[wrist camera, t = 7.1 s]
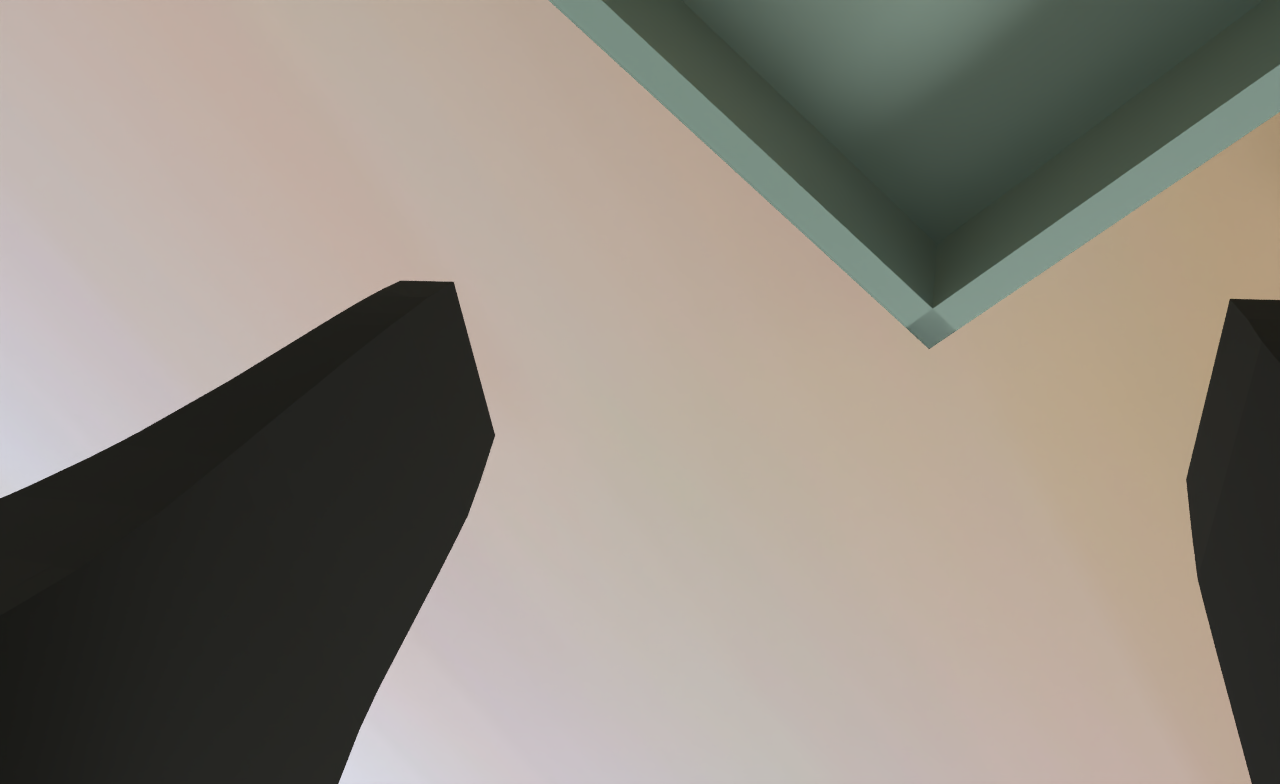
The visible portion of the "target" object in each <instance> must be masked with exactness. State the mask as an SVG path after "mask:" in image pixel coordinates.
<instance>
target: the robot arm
mask: <svg viewBox="0 0 1280 784" xmlns="http://www.w3.org/2000/svg"><path fill="white" fill-rule="evenodd" d="M494 437H495V433H494V430H493V426H492V422H491V419H490V415H489V411H488V408H487V404H486V400H485V396H484V393H483V389H482V385H481V382H480V378H479V374H478V371H477V367H476V363H475V359H474V356H473V352H472V348H471V345H470V341H469V337H468V334H467V330H466V326H465V322H464V319H463V315H462V311H461V308H460V304H459V300H458V297H457V293H456V289H455V285H454V282H435V281H399V282H397V283H395V284H393V285H390V286H388V287H386V288H384V289H382V290H380V291H378V292H376V293H374V294H373V295H371V296H369V297H367V298H365V299H364V300H362V301H360V302H358V303H357V304H355V305H353V306H351V307H350V308H348V309H346V310H345V311H343V312H341V313H340V314H338V315H336V316H335V317H333V318H331V319H330V320H328V321H326V322H325V323H323V324H321V325H320V326H318V327H316V328H315V329H313V330H312V331H310V332H308V333H307V334H305V335H303V336H302V337H300V338H299V339H297V340H295V341H294V342H292V343H290V344H289V345H287V346H286V347H284V348H282V349H281V350H279V351H277V352H276V353H274V354H272V355H271V356H269V357H268V358H266V359H264V360H263V361H261V362H259V363H258V364H256V365H254V366H253V367H251V368H250V369H248V370H246V371H245V372H243V373H241V374H240V375H238V376H236V377H235V378H233V379H231V380H230V381H228V382H226V383H225V384H223V385H221V386H219V387H218V388H216V389H214V390H212V391H210V392H209V393H207V394H205V395H203V396H202V397H200V398H198V399H196V400H195V401H193V402H191V403H189V404H188V405H186V406H184V407H182V408H181V409H179V410H177V411H175V412H174V413H172V414H170V415H168V416H166V417H165V418H163V419H161V420H159V421H158V422H156V423H154V424H152V425H151V426H149V427H147V428H145V429H144V430H142V431H140V432H138V433H136V434H134V435H132V436H131V437H129V438H127V439H125V440H123V441H121V442H119V443H117V444H115V445H113V446H111V447H109V448H107V449H105V450H103V451H101V452H99V453H97V454H95V455H93V456H91V457H89V458H87V459H85V460H83V461H81V462H79V463H77V464H75V465H73V466H71V467H68V468H66V469H64V470H62V471H60V472H58V473H56V474H54V475H51V476H49V477H47V478H45V479H43V480H41V481H39V482H37V483H34V484H32V485H30V486H28V487H26V488H23V489H21V490H19V491H16V492H14V493H12V494H10V495H7V496H5V497H2V498H0V784H338V783H339V780H340V778H341V775H342V773H343V770H344V768H345V765H346V763H347V760H348V757H349V755H350V752H351V750H352V747H353V745H354V742H355V740H356V737H357V734H358V732H359V730H360V727H361V725H362V723H363V721H364V719H365V717H366V714H367V712H368V710H369V708H370V706H371V704H372V702H373V699H374V697H375V695H376V693H377V691H378V689H379V687H380V685H381V683H382V681H383V679H384V677H385V675H386V673H387V671H388V670H389V668H390V666H391V664H392V662H393V660H394V658H395V656H396V654H397V652H398V650H399V648H400V647H401V645H402V643H403V641H404V639H405V637H406V635H407V633H408V631H409V629H410V627H411V626H412V624H413V622H414V620H415V618H416V616H417V614H418V612H419V610H420V608H421V606H422V604H423V603H424V601H425V599H426V597H427V595H428V593H429V591H430V589H431V587H432V585H433V583H434V582H435V580H436V578H437V576H438V574H439V572H440V570H441V568H442V566H443V564H444V562H445V560H446V558H447V556H448V554H449V552H450V550H451V548H452V546H453V544H454V542H455V540H456V538H457V536H458V534H459V532H460V530H461V528H462V526H463V524H464V522H465V520H466V518H467V516H468V513H469V511H470V508H471V505H472V502H473V500H474V497H475V494H476V491H477V489H478V486H479V483H480V480H481V477H482V474H483V471H484V468H485V465H486V462H487V459H488V456H489V453H490V449H491V446H492V443H493V440H494ZM1186 481H1187V491H1188V500H1189V510H1190V520H1191V529H1192V538H1193V546H1194V554H1195V561H1196V569H1197V577H1198V582H1199V586H1200V590H1201V594H1202V598H1203V602H1204V606H1205V610H1206V613H1207V617H1208V621H1209V625H1210V629H1211V633H1212V636H1213V640H1214V644H1215V648H1216V652H1217V656H1218V659H1219V663H1220V667H1221V671H1222V674H1223V678H1224V682H1225V685H1226V689H1227V693H1228V697H1229V700H1230V704H1231V708H1232V711H1233V715H1234V719H1235V723H1236V726H1237V730H1238V734H1239V737H1240V741H1241V745H1242V749H1243V752H1244V756H1245V760H1246V764H1247V767H1248V771H1249V775H1250V778H1251V782H1252V784H1280V300H1252V299H1230V301H1229V305H1228V309H1227V313H1226V318H1225V322H1224V326H1223V330H1222V334H1221V338H1220V342H1219V347H1218V351H1217V355H1216V359H1215V363H1214V367H1213V371H1212V375H1211V380H1210V384H1209V388H1208V392H1207V396H1206V400H1205V404H1204V408H1203V413H1202V417H1201V421H1200V425H1199V429H1198V433H1197V437H1196V442H1195V446H1194V450H1193V454H1192V458H1191V462H1190V466H1189V470H1188V475H1187V479H1186Z"/></svg>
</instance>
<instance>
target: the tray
mask: <svg viewBox="0 0 1280 784" xmlns="http://www.w3.org/2000/svg"><path fill="white" fill-rule="evenodd" d="M549 1H550V2H551V3H552V4H553V5H554V6H556V7H557V8H558V9H559V10H560V11H561V12H562V13H563V14H564V15H565V16H566V17H568V18H569V19H570V20H571V21H572V22H573V23H574V24H575V25H576V26H577V27H578V28H580V29H581V30H582V31H583V32H584V33H585V34H586V35H587V36H588V37H589V38H590V39H592V40H593V41H594V42H595V43H596V44H597V45H598V46H599V47H600V48H601V49H602V50H604V51H605V52H606V53H607V54H608V55H609V56H610V57H611V58H612V59H613V60H614V61H616V62H617V63H618V64H619V65H620V66H621V67H622V68H623V69H624V70H625V71H626V72H628V73H629V74H630V75H631V76H632V77H633V78H634V79H635V80H636V81H637V82H638V83H640V84H641V85H642V86H643V87H644V88H645V89H646V90H647V91H648V92H649V93H650V94H652V95H653V96H654V97H655V98H656V99H657V100H658V101H659V102H660V103H661V104H662V105H664V106H665V107H666V108H667V109H668V110H669V111H670V112H671V113H672V114H673V115H674V116H676V117H677V118H678V119H679V120H680V121H681V122H682V123H683V124H684V125H685V126H686V127H688V128H689V129H690V130H691V131H692V132H693V133H694V134H695V135H696V136H697V137H698V138H700V139H701V140H702V141H703V142H704V143H705V144H706V145H707V146H708V147H709V148H710V149H712V150H713V151H714V152H715V153H716V154H717V155H718V156H719V157H720V158H721V159H722V160H724V161H725V162H726V163H727V164H728V165H729V166H730V167H731V168H732V169H733V170H734V171H736V172H737V173H738V174H739V175H740V176H741V177H742V178H743V179H744V180H745V181H746V182H748V183H749V184H750V185H751V186H752V187H753V188H754V189H755V190H756V191H757V192H758V193H760V194H761V195H762V196H763V197H764V198H765V199H766V200H767V201H768V202H769V203H770V204H772V205H773V206H774V207H775V208H776V209H777V210H778V211H779V212H780V213H781V214H782V215H784V216H785V217H786V218H787V219H788V220H789V221H790V222H791V223H792V224H793V225H794V226H796V227H797V228H798V229H799V230H800V231H801V232H802V233H803V234H804V235H805V236H806V237H808V238H809V239H810V240H811V241H812V242H813V243H814V244H815V245H816V246H817V247H818V248H820V249H821V250H822V251H823V252H824V253H825V254H826V255H827V256H828V257H829V258H830V259H832V260H833V261H834V262H835V263H836V264H837V265H838V266H839V267H840V268H841V269H842V270H844V271H845V272H846V273H847V274H848V275H849V276H850V277H851V278H852V279H853V280H854V281H856V282H857V283H858V284H859V285H860V286H861V287H862V288H863V289H864V290H865V291H866V292H868V293H869V294H870V295H871V296H872V297H873V298H874V299H875V300H876V301H877V302H878V303H880V304H881V305H882V306H883V307H884V308H885V309H886V310H887V311H888V312H889V313H890V314H892V315H893V316H894V317H895V318H896V319H897V320H898V321H899V322H900V323H901V324H902V325H904V326H905V327H906V328H907V329H908V330H909V331H910V332H911V333H912V334H913V335H914V336H916V337H917V338H918V339H919V340H920V341H921V342H922V343H923V344H924V345H925V346H926V347H928V348H929V349H930V348H931V347H933V346H934V345H936V344H937V343H939V342H940V341H942V340H943V339H945V338H946V337H948V336H949V335H951V334H952V333H954V332H955V331H956V330H958V329H959V328H961V327H962V326H964V325H965V324H967V323H968V322H970V321H971V320H973V319H974V318H976V317H977V316H979V315H980V314H982V313H983V312H985V311H986V310H988V309H989V308H990V307H992V306H993V305H995V304H996V303H998V302H999V301H1001V300H1002V299H1004V298H1005V297H1007V296H1008V295H1010V294H1011V293H1013V292H1014V291H1016V290H1017V289H1019V288H1020V287H1022V286H1023V285H1024V284H1026V283H1027V282H1029V281H1030V280H1032V279H1033V278H1035V277H1036V276H1038V275H1039V274H1041V273H1042V272H1044V271H1045V270H1047V269H1048V268H1050V267H1051V266H1053V265H1054V264H1056V263H1057V262H1058V261H1060V260H1061V259H1063V258H1064V257H1066V256H1067V255H1069V254H1070V253H1072V252H1073V251H1075V250H1076V249H1078V248H1079V247H1081V246H1082V245H1084V244H1085V243H1087V242H1088V241H1090V240H1091V239H1092V238H1094V237H1095V236H1097V235H1098V234H1100V233H1101V232H1103V231H1104V230H1106V229H1107V228H1109V227H1110V226H1112V225H1113V224H1115V223H1116V222H1118V221H1119V220H1121V219H1122V218H1124V217H1125V216H1126V215H1128V214H1129V213H1131V212H1132V211H1134V210H1135V209H1137V208H1138V207H1140V206H1141V205H1143V204H1144V203H1146V202H1147V201H1149V200H1150V199H1152V198H1153V197H1155V196H1156V195H1158V194H1159V193H1160V192H1162V191H1163V190H1165V189H1166V188H1168V187H1169V186H1171V185H1172V184H1174V183H1175V182H1177V181H1178V180H1180V179H1181V178H1183V177H1184V176H1186V175H1187V174H1189V173H1190V172H1192V171H1193V170H1194V169H1196V168H1197V167H1199V166H1200V165H1202V164H1203V163H1205V162H1206V161H1208V160H1209V159H1211V158H1212V157H1214V156H1215V155H1217V154H1218V153H1220V152H1221V151H1223V150H1224V149H1226V148H1227V147H1228V146H1230V145H1231V144H1233V143H1234V142H1236V141H1237V140H1239V139H1240V138H1242V137H1243V136H1245V135H1246V134H1248V133H1249V132H1251V131H1252V130H1254V129H1255V128H1257V127H1258V126H1260V125H1261V124H1262V123H1264V122H1265V121H1267V120H1268V119H1270V118H1271V117H1273V116H1274V115H1276V114H1277V113H1279V112H1280V0H549Z"/></svg>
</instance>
